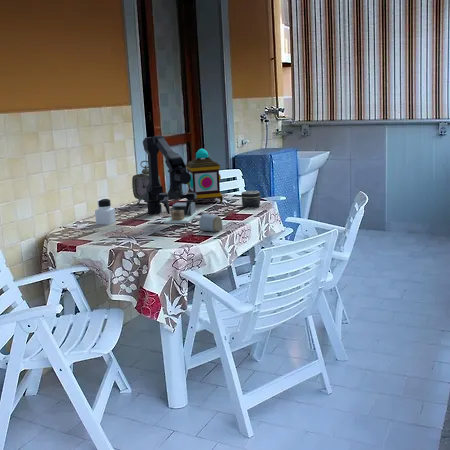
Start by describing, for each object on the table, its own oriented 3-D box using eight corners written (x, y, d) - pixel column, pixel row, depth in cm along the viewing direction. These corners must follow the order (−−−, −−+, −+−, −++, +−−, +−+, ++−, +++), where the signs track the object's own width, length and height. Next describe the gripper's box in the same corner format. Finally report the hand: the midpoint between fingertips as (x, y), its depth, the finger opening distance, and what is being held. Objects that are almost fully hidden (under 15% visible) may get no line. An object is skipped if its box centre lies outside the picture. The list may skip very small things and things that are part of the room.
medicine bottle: (116, 221, 300) (113, 198, 297) (108, 225, 293) (106, 200, 291) (103, 221, 302) (101, 197, 300) (95, 224, 296) (93, 200, 293)
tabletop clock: (133, 205, 344) (130, 161, 338) (143, 202, 351) (140, 159, 346) (153, 206, 336) (150, 161, 331) (163, 203, 343) (160, 159, 338)
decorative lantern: (184, 200, 352) (181, 148, 346) (217, 197, 356) (214, 146, 350) (190, 205, 333) (187, 151, 327) (225, 202, 337) (223, 148, 331)
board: (163, 223, 290) (163, 214, 289) (175, 214, 312) (174, 205, 311) (188, 223, 288) (187, 214, 287) (197, 213, 309) (197, 205, 308)
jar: (263, 205, 325) (263, 191, 323) (254, 208, 316) (254, 194, 315) (247, 204, 330) (247, 190, 328) (238, 207, 322) (237, 193, 320)
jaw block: (174, 218, 297) (173, 210, 296) (184, 218, 296) (183, 210, 295) (171, 220, 292) (171, 212, 291) (182, 220, 291) (181, 212, 290)
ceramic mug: (214, 233, 265) (213, 216, 263) (199, 232, 269) (198, 215, 267) (227, 228, 273) (226, 212, 272) (212, 227, 278) (211, 211, 276)
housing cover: (172, 215, 302) (172, 205, 301) (177, 212, 311) (176, 202, 310) (191, 215, 301) (190, 205, 300) (195, 211, 309) (194, 202, 308)
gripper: (152, 185, 284) (154, 217, 287) (191, 184, 281) (193, 217, 284) (158, 181, 295) (161, 213, 298) (196, 180, 291) (198, 212, 295)
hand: (177, 214), depth 293 cm, fingers open, 9 cm apart
